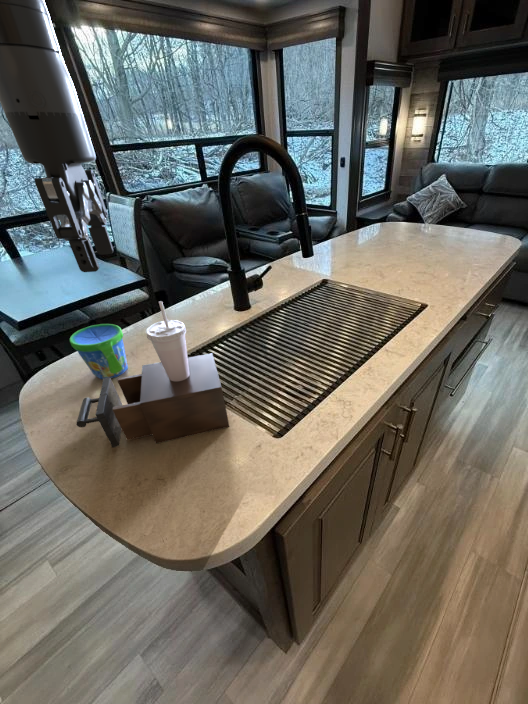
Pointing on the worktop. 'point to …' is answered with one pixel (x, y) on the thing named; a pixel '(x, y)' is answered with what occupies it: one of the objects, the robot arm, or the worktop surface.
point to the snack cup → (101, 349)
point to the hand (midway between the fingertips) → (99, 261)
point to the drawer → (117, 410)
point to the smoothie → (170, 346)
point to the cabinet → (183, 400)
